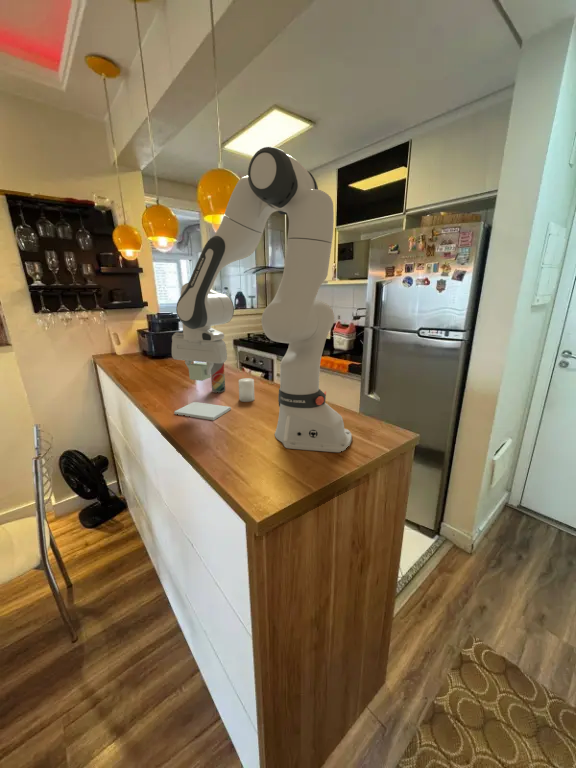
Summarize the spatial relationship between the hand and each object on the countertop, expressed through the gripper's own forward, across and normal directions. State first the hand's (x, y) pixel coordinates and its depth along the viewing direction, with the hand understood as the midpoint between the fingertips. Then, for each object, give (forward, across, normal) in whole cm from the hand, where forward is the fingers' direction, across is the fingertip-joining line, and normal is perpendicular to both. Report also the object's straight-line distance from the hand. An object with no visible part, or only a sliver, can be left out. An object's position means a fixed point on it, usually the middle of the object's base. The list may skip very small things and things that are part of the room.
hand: (200, 373), depth 106 cm
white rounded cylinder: (+14, +8, +18) cm, 24 cm away
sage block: (+2, 0, 0) cm, 2 cm away
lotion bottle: (+14, -9, +24) cm, 29 cm away
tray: (+14, 0, 0) cm, 14 cm away
